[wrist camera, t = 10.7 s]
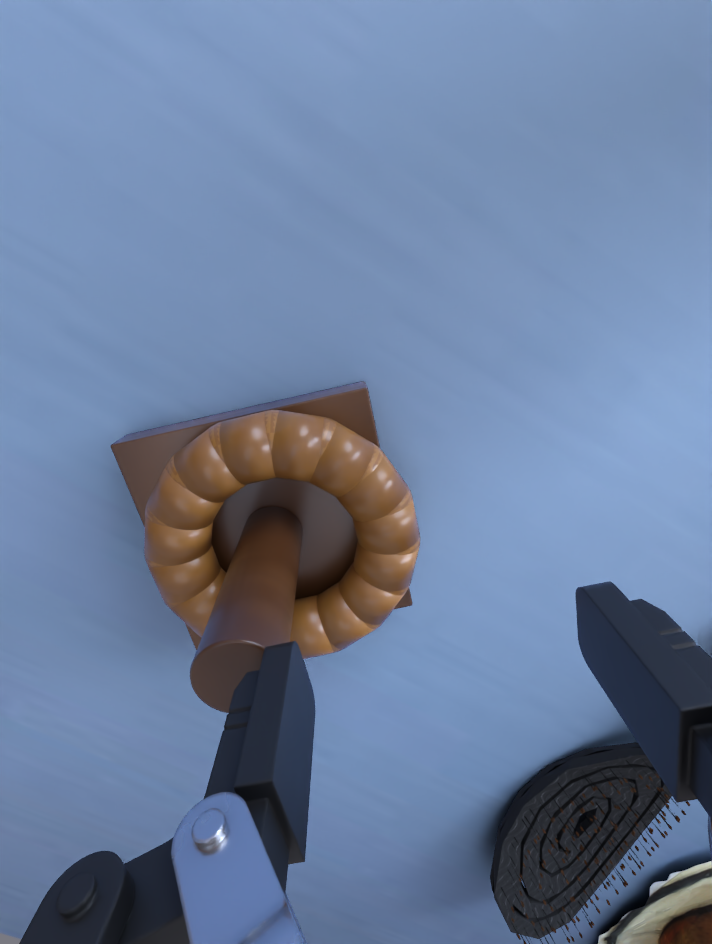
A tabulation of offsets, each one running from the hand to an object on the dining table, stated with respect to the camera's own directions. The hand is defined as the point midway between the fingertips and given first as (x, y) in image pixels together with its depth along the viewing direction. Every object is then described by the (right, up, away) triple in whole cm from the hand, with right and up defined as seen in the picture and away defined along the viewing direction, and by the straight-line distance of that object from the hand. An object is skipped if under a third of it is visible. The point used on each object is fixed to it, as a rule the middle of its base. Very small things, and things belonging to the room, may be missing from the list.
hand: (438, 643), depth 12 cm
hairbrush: (+14, -12, +16) cm, 24 cm away
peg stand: (-5, +2, +9) cm, 11 cm away
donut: (-5, +1, +7) cm, 8 cm away
